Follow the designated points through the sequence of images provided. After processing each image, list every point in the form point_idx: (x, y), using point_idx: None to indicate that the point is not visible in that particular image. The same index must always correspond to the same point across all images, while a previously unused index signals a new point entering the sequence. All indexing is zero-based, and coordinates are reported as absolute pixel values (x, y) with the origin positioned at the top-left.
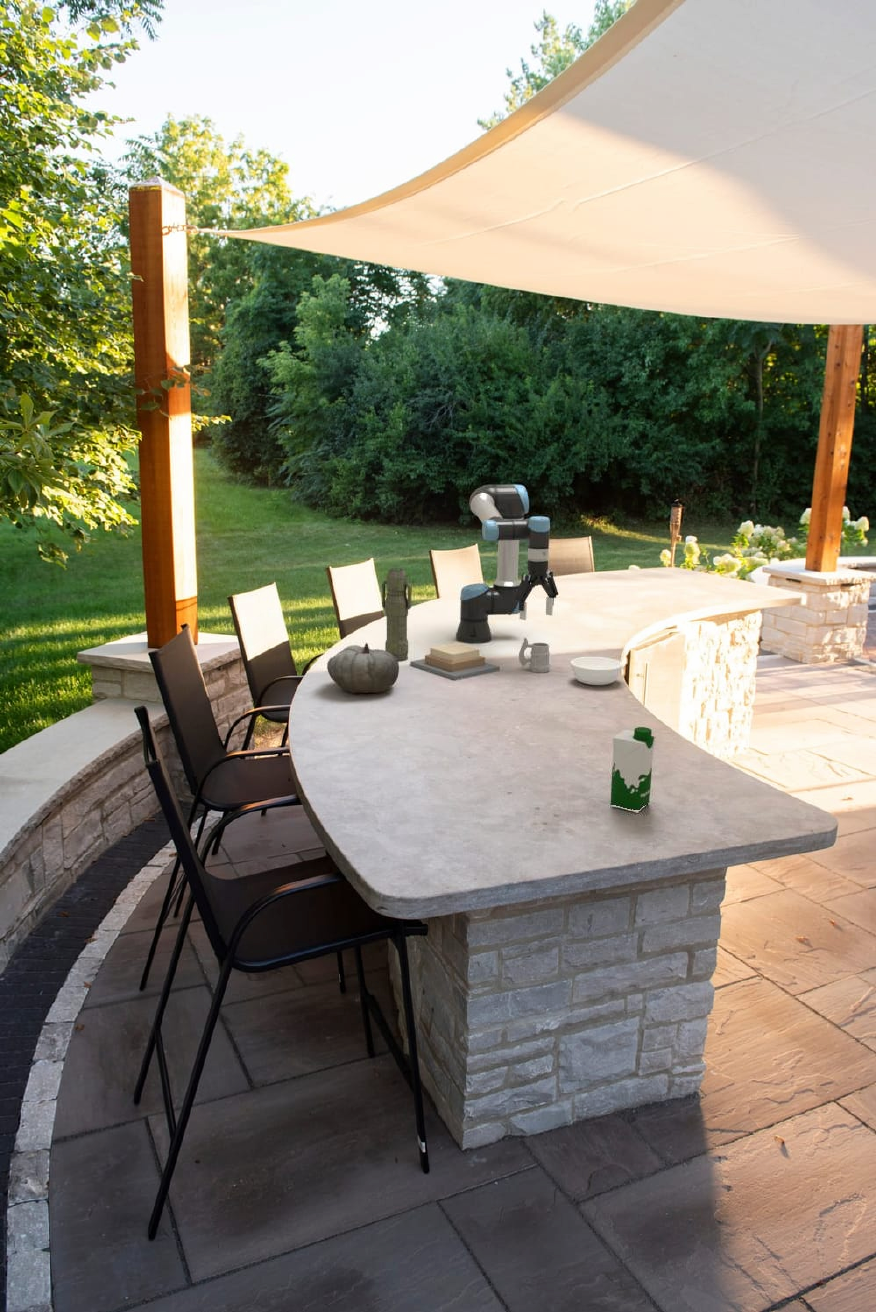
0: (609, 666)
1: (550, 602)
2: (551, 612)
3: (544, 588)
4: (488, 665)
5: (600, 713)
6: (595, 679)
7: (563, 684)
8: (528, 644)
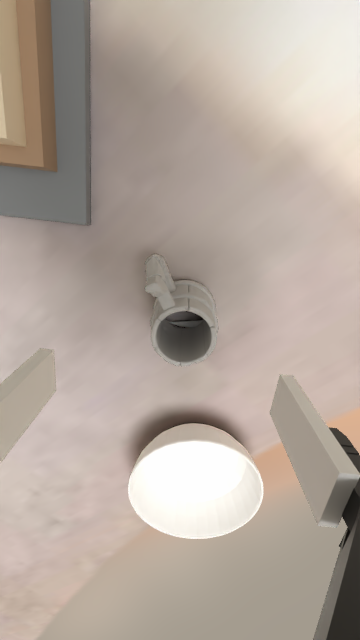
0: (251, 477)
1: (304, 477)
2: (279, 426)
3: (325, 625)
4: (64, 186)
5: (40, 539)
6: (151, 490)
7: (126, 418)
8: (161, 296)
